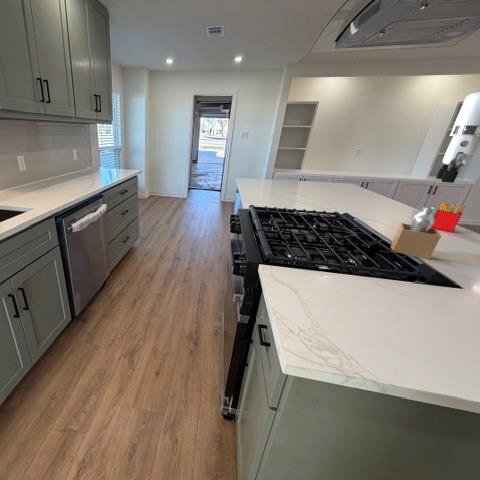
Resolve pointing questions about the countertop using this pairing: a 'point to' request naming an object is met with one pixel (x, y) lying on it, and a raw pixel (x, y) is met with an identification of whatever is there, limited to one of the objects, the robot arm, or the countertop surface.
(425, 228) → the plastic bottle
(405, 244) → the bottle box
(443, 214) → the french fries container
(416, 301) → the countertop surface
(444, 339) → the countertop surface
